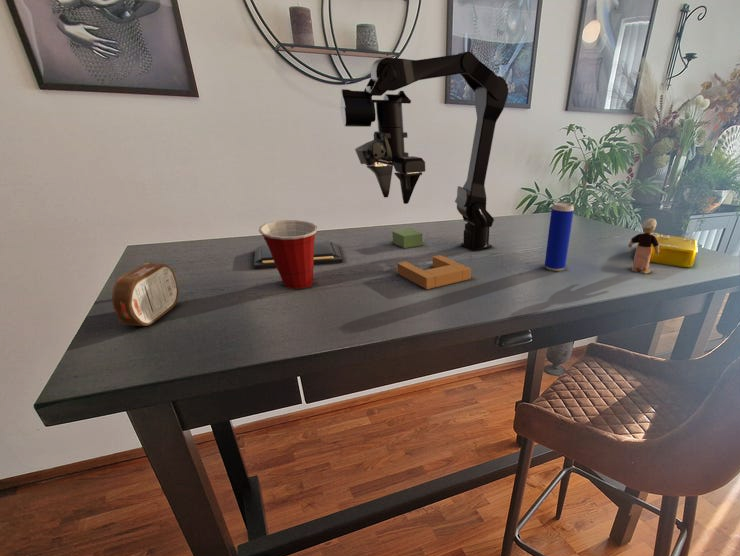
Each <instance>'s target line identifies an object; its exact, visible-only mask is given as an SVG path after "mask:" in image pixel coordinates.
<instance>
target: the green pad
mask: <svg viewBox="0 0 740 556" xmlns="http://www.w3.org/2000/svg"><path fill="white" fill-rule="evenodd" d="M391 234H392V244H393V245H396V246H398V247H400V248H403V249H408V248H413V247H419V246H420V247H421V246H423V243H424V242H423V233H422V232H421V231H417V230H415V229H413V228H406V229H400V230H399V229H398V230H392V231H391Z"/></svg>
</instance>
